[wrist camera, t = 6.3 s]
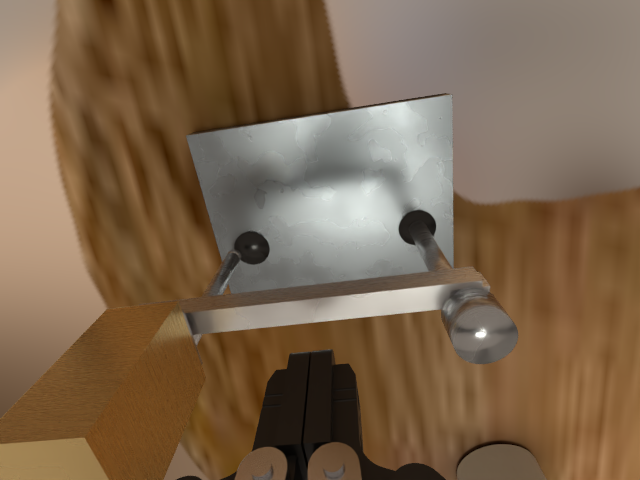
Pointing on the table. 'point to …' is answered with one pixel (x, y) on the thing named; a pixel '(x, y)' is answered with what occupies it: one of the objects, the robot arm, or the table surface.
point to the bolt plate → (342, 224)
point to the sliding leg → (112, 398)
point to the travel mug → (500, 464)
